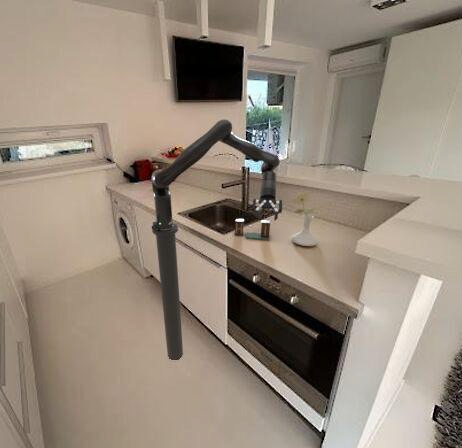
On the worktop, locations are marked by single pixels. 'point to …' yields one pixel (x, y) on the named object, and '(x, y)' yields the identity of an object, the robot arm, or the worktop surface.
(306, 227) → the flower in vase
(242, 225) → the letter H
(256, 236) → the word mat
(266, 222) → the brown white-topped cylinder
